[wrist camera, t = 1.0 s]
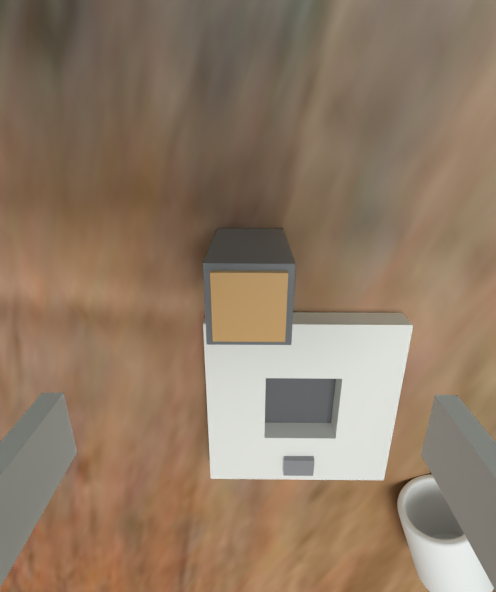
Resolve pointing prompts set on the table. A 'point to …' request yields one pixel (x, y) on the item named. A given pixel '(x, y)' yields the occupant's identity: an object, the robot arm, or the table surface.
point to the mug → (438, 540)
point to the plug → (249, 287)
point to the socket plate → (308, 399)
